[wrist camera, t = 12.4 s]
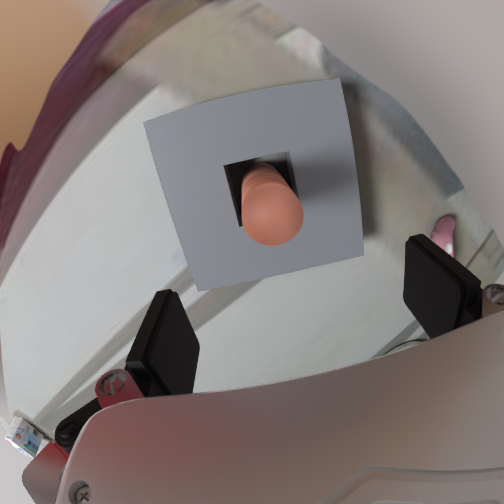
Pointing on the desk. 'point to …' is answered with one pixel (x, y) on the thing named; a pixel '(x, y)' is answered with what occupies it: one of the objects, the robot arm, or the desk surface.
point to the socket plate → (253, 146)
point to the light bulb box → (24, 437)
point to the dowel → (269, 206)
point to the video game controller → (444, 234)
